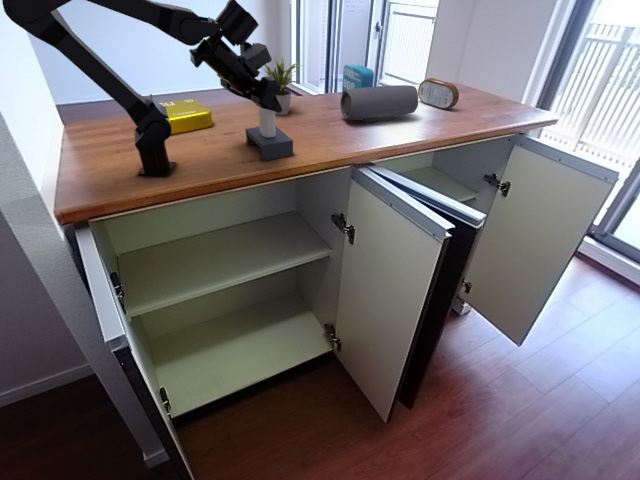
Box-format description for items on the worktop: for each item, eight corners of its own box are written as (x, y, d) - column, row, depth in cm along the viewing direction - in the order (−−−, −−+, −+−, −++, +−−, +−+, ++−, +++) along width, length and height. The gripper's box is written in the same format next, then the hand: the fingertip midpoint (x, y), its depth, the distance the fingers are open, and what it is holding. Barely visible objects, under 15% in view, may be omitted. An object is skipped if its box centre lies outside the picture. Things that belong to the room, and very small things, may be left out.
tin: (455, 110, 127) (462, 85, 122) (450, 112, 126) (457, 86, 121) (419, 99, 136) (424, 75, 131) (414, 101, 134) (419, 76, 129)
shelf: (263, 161, 91) (262, 145, 89) (246, 143, 99) (245, 128, 97) (293, 155, 94) (293, 140, 92) (274, 138, 103) (273, 124, 100)
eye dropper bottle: (277, 130, 97) (276, 82, 89) (275, 139, 92) (273, 88, 85) (261, 129, 97) (258, 81, 90) (257, 138, 92) (253, 87, 85)
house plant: (311, 118, 116) (312, 62, 106) (268, 123, 112) (265, 64, 102) (296, 104, 127) (296, 52, 117) (256, 108, 122) (253, 53, 112)
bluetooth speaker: (401, 111, 125) (406, 80, 119) (416, 121, 118) (422, 88, 112) (338, 117, 118) (340, 84, 112) (350, 127, 111) (353, 93, 105)
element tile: (163, 136, 101) (159, 119, 98) (147, 120, 111) (143, 103, 108) (215, 126, 108) (213, 109, 106) (196, 111, 118) (193, 96, 115)
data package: (341, 99, 133) (343, 63, 126) (351, 98, 135) (354, 62, 128) (359, 109, 125) (363, 71, 118) (370, 108, 127) (374, 70, 119)
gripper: (271, 37, 73) (314, 88, 85) (226, 24, 84) (269, 70, 96) (239, 85, 73) (286, 128, 86) (198, 66, 85) (245, 106, 97)
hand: (271, 106), depth 91 cm, fingers open, 7 cm apart
